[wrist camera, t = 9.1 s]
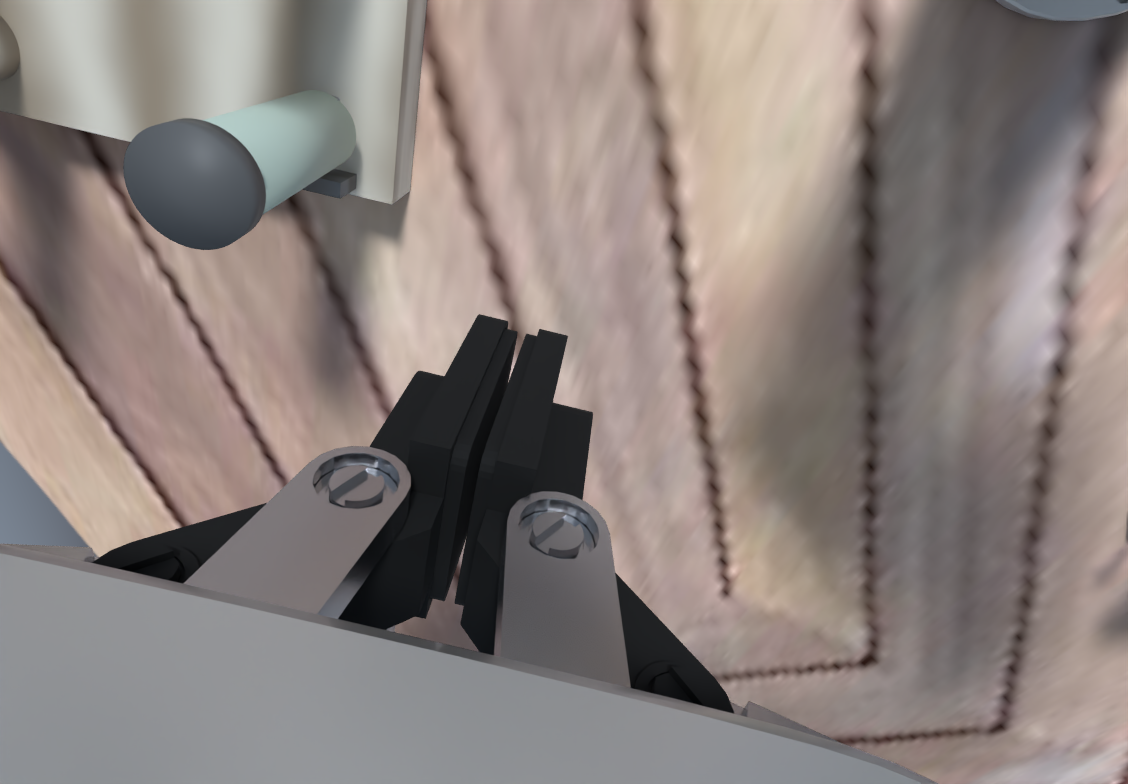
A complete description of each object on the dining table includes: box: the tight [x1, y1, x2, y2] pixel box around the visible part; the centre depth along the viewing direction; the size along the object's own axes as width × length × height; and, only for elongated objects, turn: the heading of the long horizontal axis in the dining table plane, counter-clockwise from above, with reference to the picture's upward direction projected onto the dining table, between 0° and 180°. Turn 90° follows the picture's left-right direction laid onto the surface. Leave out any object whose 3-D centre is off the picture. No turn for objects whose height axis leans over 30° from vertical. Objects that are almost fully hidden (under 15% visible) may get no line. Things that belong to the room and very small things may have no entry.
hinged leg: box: [123, 90, 356, 250], centre depth 23 cm, size 4×4×12 cm
